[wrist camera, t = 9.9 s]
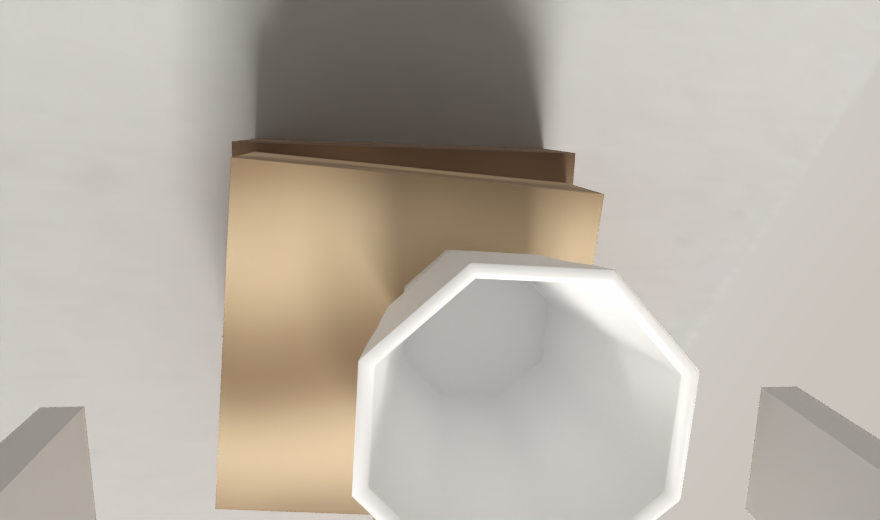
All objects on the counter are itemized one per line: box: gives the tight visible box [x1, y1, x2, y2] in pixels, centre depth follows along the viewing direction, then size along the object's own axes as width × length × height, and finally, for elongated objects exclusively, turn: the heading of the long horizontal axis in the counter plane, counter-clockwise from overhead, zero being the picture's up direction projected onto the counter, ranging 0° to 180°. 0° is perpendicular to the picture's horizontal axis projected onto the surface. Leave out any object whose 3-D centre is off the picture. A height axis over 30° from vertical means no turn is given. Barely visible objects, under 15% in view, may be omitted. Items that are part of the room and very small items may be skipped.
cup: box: [352, 250, 700, 520], centre depth 17 cm, size 7×10×8 cm
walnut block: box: [232, 139, 575, 185], centre depth 27 cm, size 12×12×5 cm
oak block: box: [215, 152, 604, 515], centre depth 22 cm, size 11×11×4 cm
